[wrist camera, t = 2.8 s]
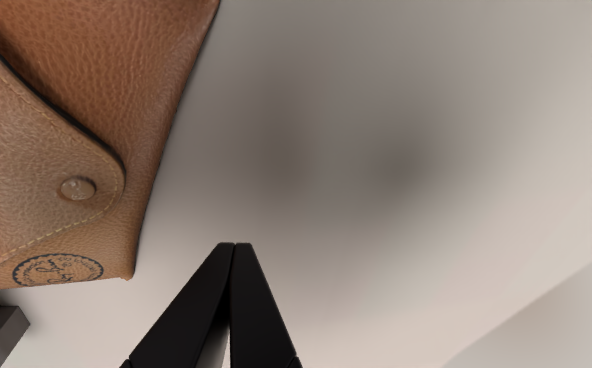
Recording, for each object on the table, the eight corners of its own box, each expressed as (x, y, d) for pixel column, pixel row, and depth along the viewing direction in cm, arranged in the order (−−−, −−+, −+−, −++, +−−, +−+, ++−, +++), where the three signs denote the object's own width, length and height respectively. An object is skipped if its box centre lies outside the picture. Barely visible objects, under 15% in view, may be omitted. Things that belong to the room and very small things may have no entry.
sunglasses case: (138, 288, 19) (9, 379, 13) (63, 222, 20) (-84, 279, 15) (234, -28, 11) (-9, -149, 5) (95, -106, 12) (-226, -274, 6)
